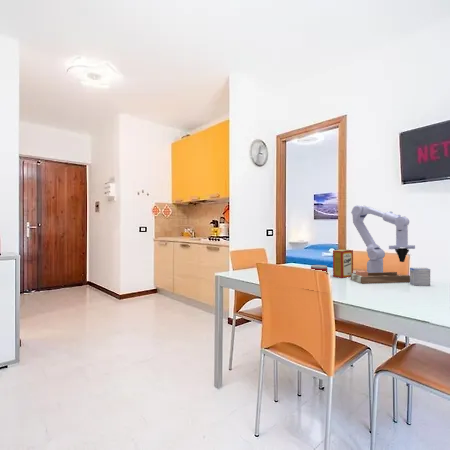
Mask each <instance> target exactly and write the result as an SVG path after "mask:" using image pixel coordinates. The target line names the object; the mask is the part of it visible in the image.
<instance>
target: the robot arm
mask: <svg viewBox="0 0 450 450" xmlns="http://www.w3.org/2000/svg"><path fill="white" fill-rule="evenodd" d="M350 213H351V215H352V223H353V225H354V226H355V228H356V231H357V233H358V234H359V235H360V236H359V237H360V238H361V239H362V241H363V243H364V244H365V246H366V252H367V256H368V258H369V260H368V261H367V263H366V271H367V272H368V273H378V272H384V258H385V257H386V253H385V251H384V249H382V248H381V247H380V246H379V245H378V244H377V243H376V241H375V239H374V238H373V237H372V235H371V233H370V232H369V230H368V228H367V226H366V225H365V223H364V220H365V218H366V217H367V215H374V216H375V217H376V216H377V217H378V218H382V220H383V222H387V223H390V224H392V225H394V226H395V229H396V230H395V245H388V250H394V251H395V253H396V255H397V257H398V259H399V262H401V263H405V260H406V257H407V254H409V252H410V250H411V249H412V250H415V249H416V245H414V244H411V245H410V244H409V237H408V236H409V235H408V231H409V227H408V226H409V224H410V220H409V218H408V217H407V216H401V214H396V213H393V211H386V212H385V211H381V210H380V209H379V210H378V209H376V208H374V207H371V206H366V205H357V204H356V205H354V206H353V208H352V210H351V212H350Z"/></svg>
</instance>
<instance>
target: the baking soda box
mask: <svg viewBox="0 0 450 450" xmlns="http://www.w3.org/2000/svg"><path fill="white" fill-rule="evenodd" d="M351 273H354V250H352V249H334V250H332V276H333V277H334V278H338V277H339V278H340V279H345V278H346V279H348V278H351ZM333 277H332V278H333ZM347 277H348V278H347ZM339 278H338V279H339Z"/></svg>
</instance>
